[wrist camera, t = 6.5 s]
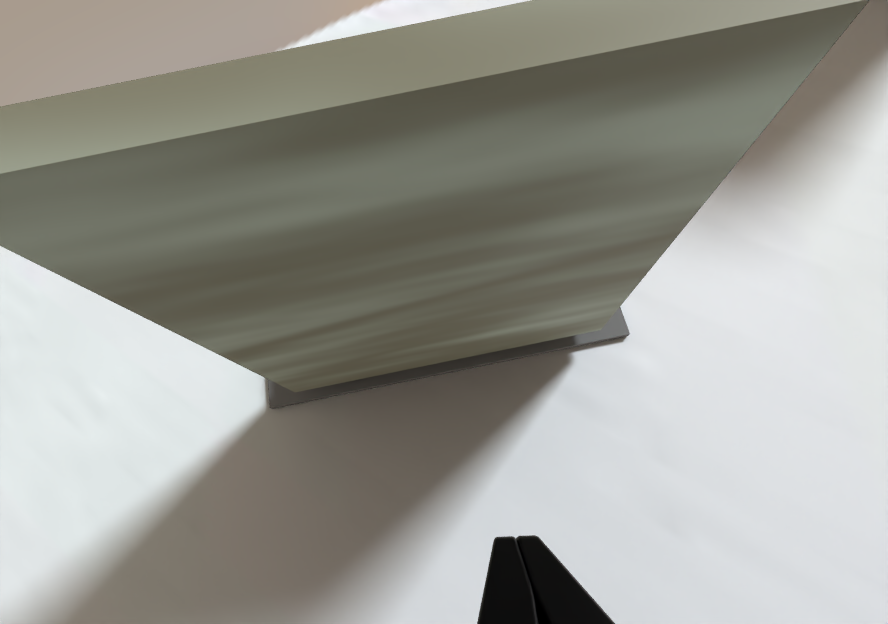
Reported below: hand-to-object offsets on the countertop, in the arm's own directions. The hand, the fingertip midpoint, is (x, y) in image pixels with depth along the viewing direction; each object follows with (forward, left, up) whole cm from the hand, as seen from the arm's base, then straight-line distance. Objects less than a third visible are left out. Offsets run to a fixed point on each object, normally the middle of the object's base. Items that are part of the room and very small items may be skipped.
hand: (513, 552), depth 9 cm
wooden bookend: (+12, +1, -10) cm, 15 cm away
